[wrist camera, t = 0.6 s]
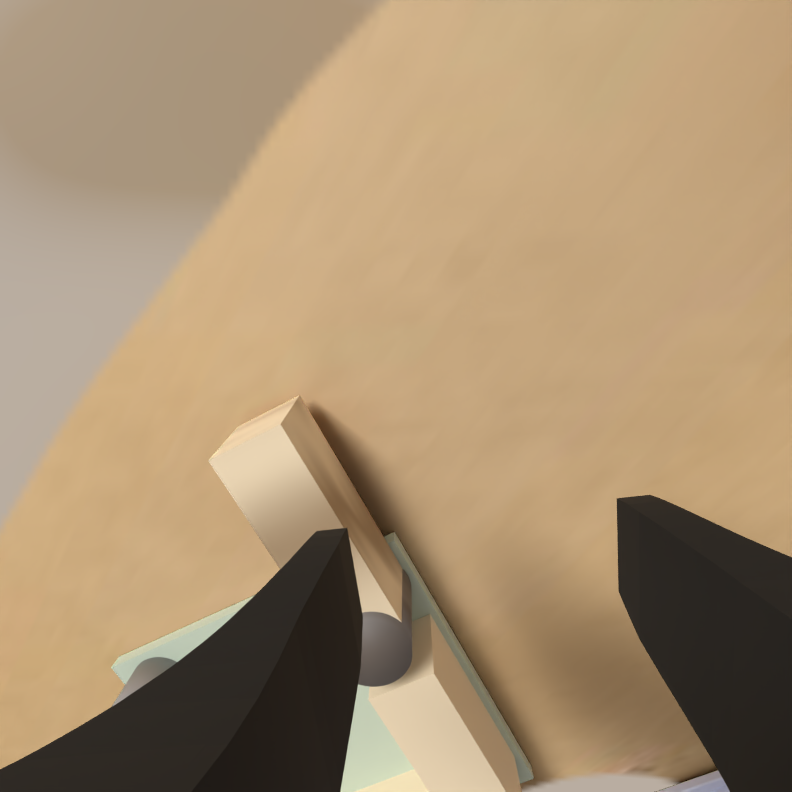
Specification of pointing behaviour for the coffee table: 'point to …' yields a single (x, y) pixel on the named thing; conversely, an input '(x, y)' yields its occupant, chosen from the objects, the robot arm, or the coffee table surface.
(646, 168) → the coffee table surface
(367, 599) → the beige long rectangular block
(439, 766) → the hinged beam frame
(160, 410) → the coffee table surface
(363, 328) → the coffee table surface
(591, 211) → the coffee table surface
